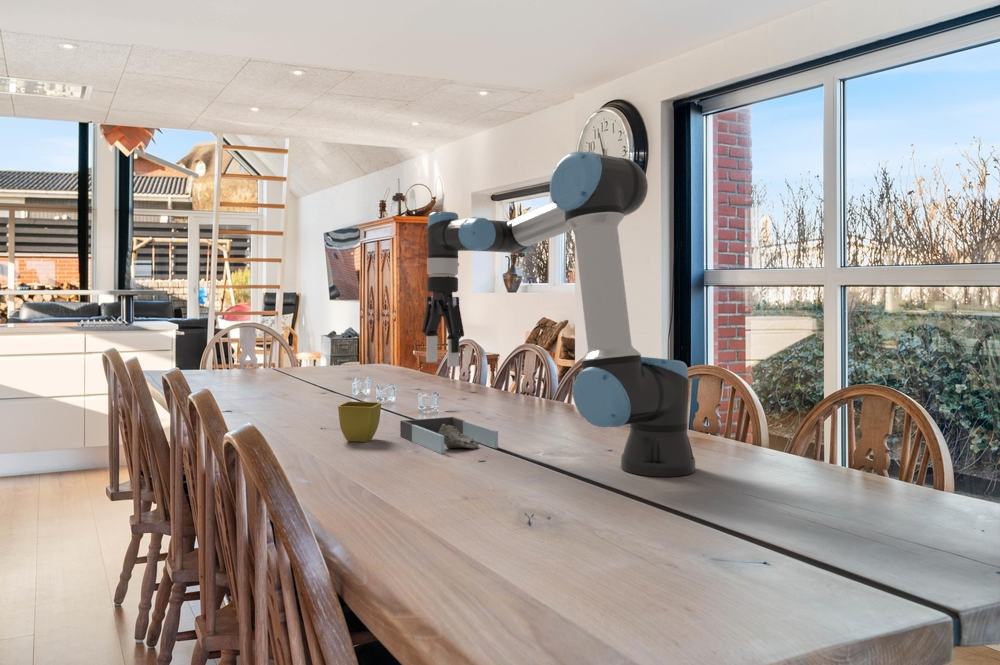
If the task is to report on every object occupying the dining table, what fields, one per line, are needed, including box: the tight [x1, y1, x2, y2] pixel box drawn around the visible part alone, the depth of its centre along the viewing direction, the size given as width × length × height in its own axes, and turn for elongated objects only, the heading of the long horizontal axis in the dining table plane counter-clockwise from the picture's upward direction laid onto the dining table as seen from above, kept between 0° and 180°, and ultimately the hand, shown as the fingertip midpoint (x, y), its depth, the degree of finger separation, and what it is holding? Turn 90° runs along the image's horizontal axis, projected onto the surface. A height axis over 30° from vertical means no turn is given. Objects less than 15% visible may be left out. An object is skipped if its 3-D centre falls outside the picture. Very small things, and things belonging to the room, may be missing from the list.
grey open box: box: [399, 416, 466, 442], centre depth 207 cm, size 8×15×4 cm, turn 119°
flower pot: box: [337, 401, 383, 443], centre depth 201 cm, size 9×9×9 cm
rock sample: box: [438, 424, 480, 450], centre depth 193 cm, size 10×8×9 cm
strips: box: [411, 420, 499, 455], centre depth 196 cm, size 17×15×4 cm
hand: (442, 364), depth 202 cm, fingers open, 12 cm apart
